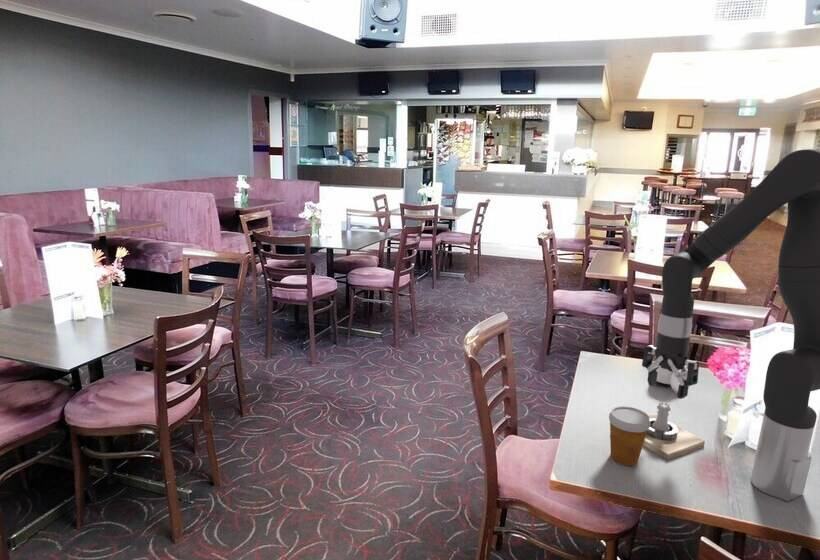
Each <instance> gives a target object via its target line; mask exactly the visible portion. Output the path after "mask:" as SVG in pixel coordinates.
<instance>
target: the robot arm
mask: <svg viewBox="0 0 820 560" xmlns="http://www.w3.org/2000/svg"><path fill="white" fill-rule="evenodd" d="M786 204H787V220H786V221H787V222H786V226H785V230H784V233H783V237H782V241H781V245H780V249H779V255H778V265H777V267H778V268H777V270H778V271H777V272H778V276H777V277H778V282H777V283H778V284H777V285H778V290H779V293H780V296H781V299H782V300H783V302H784V304H785V306H786V308H787V311H788V312H789V314H790V317H791V319H792V325H793V347H792V349H788V350H781V351H779V352H777V353H776V354H774V355H773V356H772V357H771V359H770V360H769V362H768V365H767V370H766V372H765V373H766V374H765V375H766V376H765V380H764V381H765V382H764V387H763V388H764V390H763V396H762V397H763V403H764V412H763V417H762V421H761V426H760V431H759V436H758V442H757V445H756V446H757V447H756V451H755V456H754V462H753V465H752V466H753V467H752V469H751V475H750V481H751V484H752V485H753V486H754V487H755V488H756V489H758V490H759V491H761V492H763V493H765V494H766V495H770V496H771V497H774V498H775V497H776V498H778V499H782V500H784V501H786V502H790V501H792V500H794V499H795V498H798V497H800V496H802V495H804V492H805V488H806V487H805V486H806V483H807V478H808V475H809V470H810V466H811V462H812V456H811V455H809V452H810V448H811V442H812V438H813V434H814V431H815V426H816V422H817V417H818V416H817V412H816V411H815V409H814V408H812V406H809V402H810V401H809V400H810V396H811V392H815V391H819V390H820V150H817V149H813V148H798V149H796V150H793V151H791V152H788V153H787V154H785V155H784V156H783V158H781V160H779V162H778V163H777V164H776V165H775V166H774V167H773V168H772V169H771V171H769V173H768V174H767V175H766V176H765V177H764V178H763V179H762V181H761V182H759V184H758V185H757V186H756V187H754V189H753V190H752V191H750V193H748V194H747V195H746V196H745V197H744V198H743V199H741V200H740V201H739V202H738V203H737V204H735V206H733V207H731V209H729V210H728V211H727V212H725V213H724V214H723V215H722V216H721V217H719V218H718V219H717V220H716V221H714V222H713V223H712V224H710V225H709V226H708V227H707V228H705V229H704V230H703V231H702V232H700V234H699V235H698V236H697V237H695V240H694V241H693V242H692V243H691V244H689V245H688V246H687V247H686V248H684V249H683V250H682V251H680V252H678V253H676V254H674V255H671V256H670V257H668V258H667V259H666V260H665V262H664V264H663V267H662V272H661V280H662V282H661V284H662V293H663V297H662V302H661V308H660V309H661V310H660V315H659V318H658V323H657V325H658V326H657V333H656V338H655V339H656V340H655V341H656V342H655V345H654V344H650V345H645V347H644V352H643V357H642V362H641V366H642V368H646V370H647V371H648V373H647V382H648V384H647V385H648V386H650V387H653V386H656V385H657V384H656V381H657V373H658V372H657V371H656V370H657V369H659V368H660V367H661V368H663V369H667V370H669V371H671V372H673V373H674V375H675V377H677V378H678V381H679V383H680V384H679V388H678V392H677V398H678V399H680V400H682V399H684V398H686V397H687V396H688V392H689V388H688V387H691V386H695V385H697V384H698V380H699V379H698V378H699V370H700V369H699V367H700V362H699V361H698V360H694V361H693V360H690V359H688V357H687V356H688V353H689V350H690V343H691V336H692V330H693V329H692V328H693V314H694V308H695V306H694V305H695V296H694V295H693V293H692V287H693V279H695V278H697V277H698V276H699V275H701V274H702V273H703V272H704V271H706V270H707V269H708V268H709V267H710V266H712V264H713V263H715V261H717V260H718V259H720V258H722V257H723V256H725V255H726V254H727V253H729V252H730V251H731V250H732V249H734V248H735V247H737V246H738V245H739V244H741V242H743V241H744V240H746V239H747V238H748V237H749V235H751V234H752V233H753V232H754V231H755V229H756V228H758V227H759V226H760V225H761V224H762V223H763V222H764V221H765V220H766V219H767V218H768V217H769V216H771V215H772V214H773V213H775V212H776V211H777V210H778V209H780V208H781V207H783V206H785V205H786ZM655 356H656V357H657V359H656V360H655V361H654V357H655ZM680 369H681V372H679V371H678V370H680Z"/></svg>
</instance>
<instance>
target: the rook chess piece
mask: <svg viewBox="0 0 820 560" xmlns="http://www.w3.org/2000/svg"><path fill="white" fill-rule="evenodd" d="M656 409H657V410H658V411H657V419H656V421H655V422H654V423H653V424H652V428H653V429H655V430H658V431H661V432H669V431H670V427H669V425H668V421H669V420H668V418H669V415H670V414H669V412H671V408H670V404H668V403H666V402H665V403H664V402H659V404H658V405H657V406H656Z"/></svg>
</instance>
